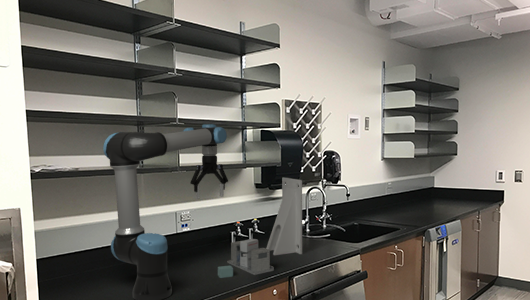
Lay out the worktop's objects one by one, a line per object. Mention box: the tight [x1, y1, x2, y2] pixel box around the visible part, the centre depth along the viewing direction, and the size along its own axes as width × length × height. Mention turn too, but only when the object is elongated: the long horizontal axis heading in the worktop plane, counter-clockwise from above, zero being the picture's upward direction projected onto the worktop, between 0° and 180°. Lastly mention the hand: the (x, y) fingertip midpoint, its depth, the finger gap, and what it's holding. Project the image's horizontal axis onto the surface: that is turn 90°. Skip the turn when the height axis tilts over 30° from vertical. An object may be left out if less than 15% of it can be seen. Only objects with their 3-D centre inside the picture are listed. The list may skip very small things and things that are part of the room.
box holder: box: [226, 240, 275, 276], centre depth 203 cm, size 11×24×10 cm, turn 36°
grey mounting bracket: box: [265, 177, 303, 256], centre depth 230 cm, size 20×14×40 cm
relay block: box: [217, 264, 234, 279], centre depth 189 cm, size 6×4×4 cm, turn 111°
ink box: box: [240, 238, 259, 267], centre depth 202 cm, size 8×5×12 cm, turn 140°
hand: (209, 197), depth 209 cm, fingers open, 13 cm apart
